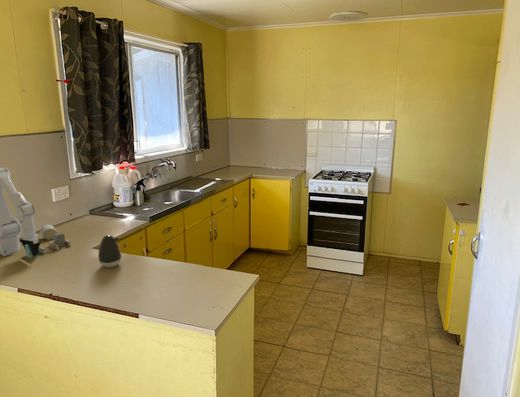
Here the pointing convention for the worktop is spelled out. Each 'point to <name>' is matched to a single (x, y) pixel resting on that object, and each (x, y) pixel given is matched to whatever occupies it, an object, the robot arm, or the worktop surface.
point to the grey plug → (59, 239)
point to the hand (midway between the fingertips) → (32, 253)
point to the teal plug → (29, 252)
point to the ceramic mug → (48, 231)
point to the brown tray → (53, 247)
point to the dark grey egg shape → (109, 252)
